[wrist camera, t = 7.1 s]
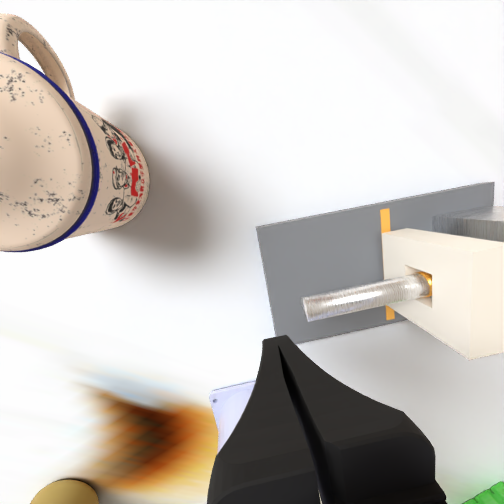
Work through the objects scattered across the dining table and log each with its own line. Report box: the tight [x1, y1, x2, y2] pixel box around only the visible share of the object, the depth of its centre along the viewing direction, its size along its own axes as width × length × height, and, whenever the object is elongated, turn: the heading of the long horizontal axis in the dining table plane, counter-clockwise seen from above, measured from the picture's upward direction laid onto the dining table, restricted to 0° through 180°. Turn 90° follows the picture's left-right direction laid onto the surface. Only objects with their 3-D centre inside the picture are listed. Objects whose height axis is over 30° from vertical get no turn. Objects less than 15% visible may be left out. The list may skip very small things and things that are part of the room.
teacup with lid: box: [0, 14, 150, 252], centre depth 13 cm, size 12×9×12 cm
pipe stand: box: [301, 206, 504, 322], centre depth 17 cm, size 8×19×10 cm, turn 100°
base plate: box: [256, 182, 494, 344], centre depth 22 cm, size 12×22×1 cm, turn 100°
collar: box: [382, 228, 504, 360], centre depth 18 cm, size 7×2×8 cm, turn 10°
